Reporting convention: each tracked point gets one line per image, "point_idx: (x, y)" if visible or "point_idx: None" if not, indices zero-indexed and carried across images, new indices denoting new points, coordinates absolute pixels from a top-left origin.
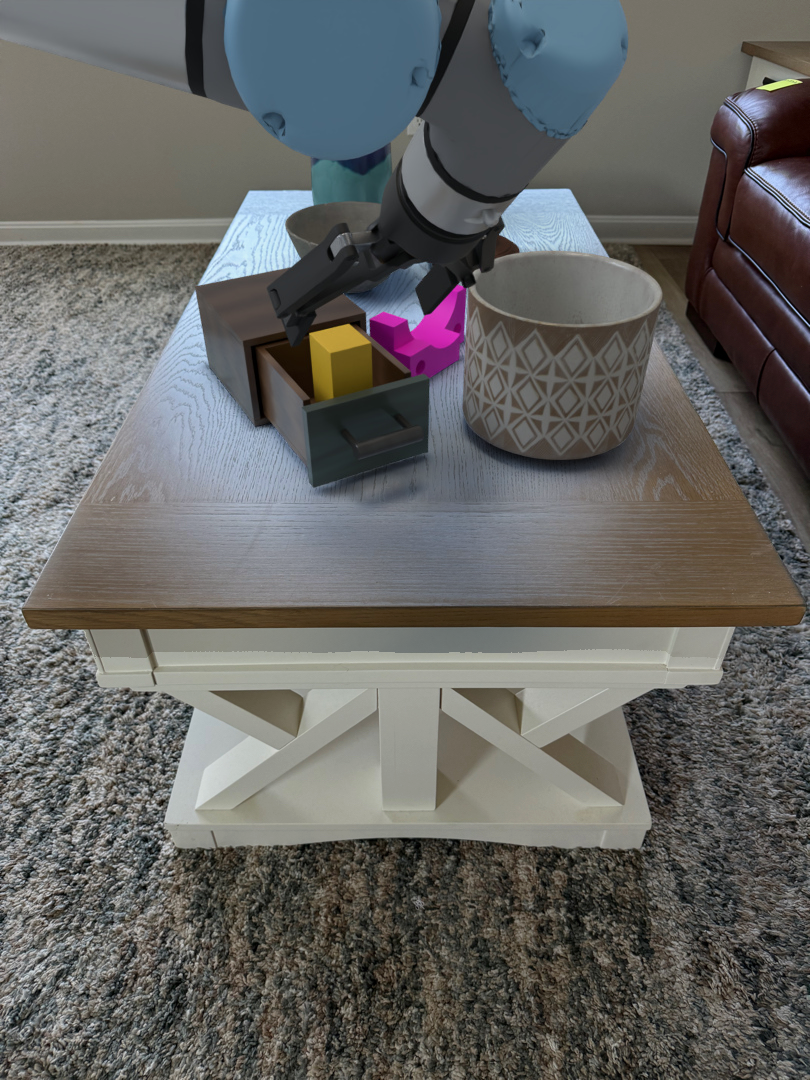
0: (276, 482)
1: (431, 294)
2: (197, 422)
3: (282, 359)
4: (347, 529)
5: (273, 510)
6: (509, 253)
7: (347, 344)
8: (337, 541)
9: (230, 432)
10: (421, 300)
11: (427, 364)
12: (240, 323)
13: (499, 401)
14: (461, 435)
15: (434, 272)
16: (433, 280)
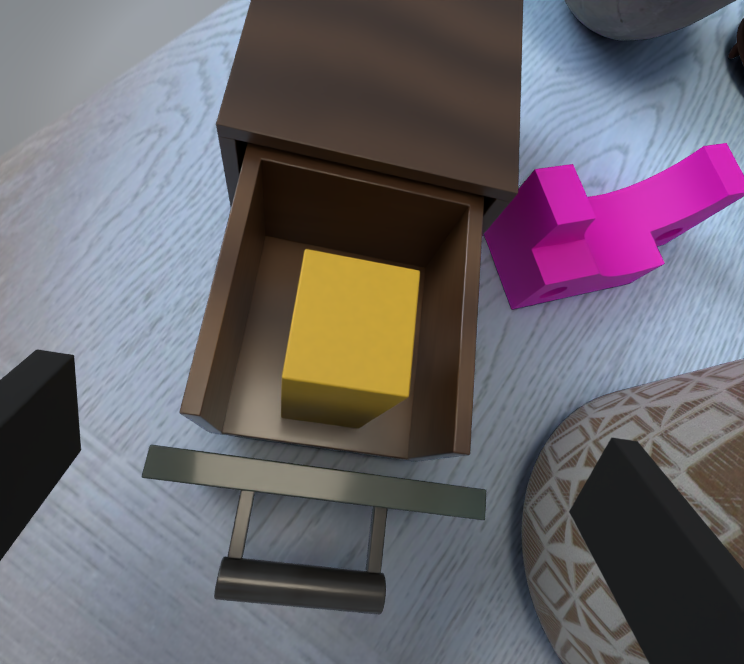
0: (161, 400)
1: (636, 577)
2: (167, 166)
3: (299, 189)
4: (170, 609)
5: (102, 471)
6: None
7: (349, 365)
8: (131, 632)
9: (193, 224)
10: (597, 494)
11: (569, 289)
12: (262, 61)
13: (587, 615)
14: (508, 478)
15: (727, 629)
16: (689, 613)
